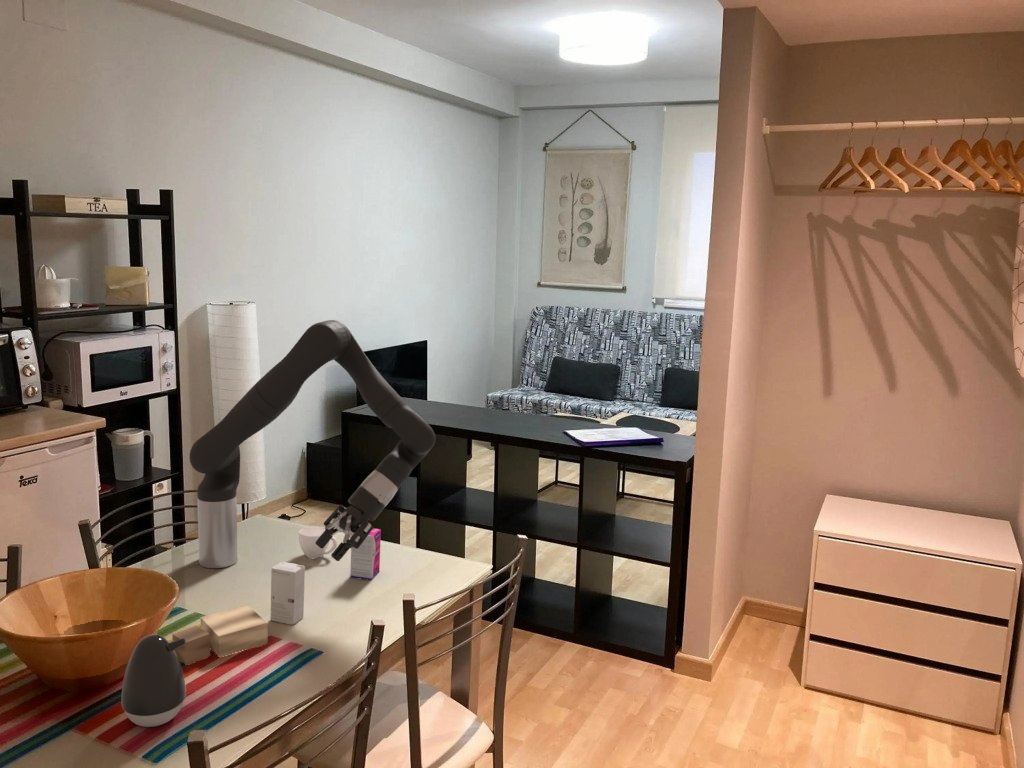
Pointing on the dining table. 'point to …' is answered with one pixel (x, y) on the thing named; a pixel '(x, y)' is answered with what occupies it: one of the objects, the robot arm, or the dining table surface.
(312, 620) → the dining table surface
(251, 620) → the beech block
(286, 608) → the skincare box
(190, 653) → the tan wooden cube
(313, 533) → the cup
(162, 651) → the pump dispenser
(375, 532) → the supplement box
